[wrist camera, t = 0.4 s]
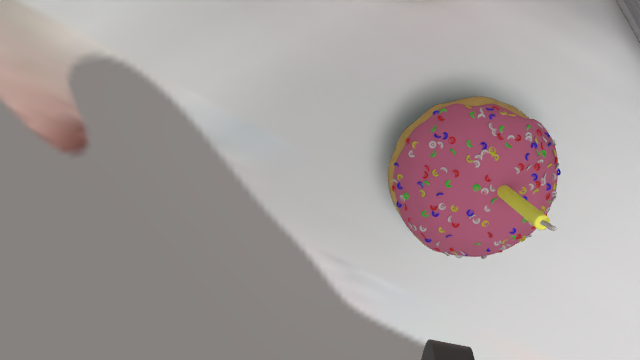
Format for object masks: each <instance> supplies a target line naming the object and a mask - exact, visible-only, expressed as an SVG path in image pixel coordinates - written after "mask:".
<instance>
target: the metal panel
mask: <svg viewBox="0 0 640 360" xmlns="http://www.w3.org/2000/svg"><path fill="white" fill-rule="evenodd" d="M616 1H617V3H618V5H619V6H620V8H621V10H622V12H623V13H624V15H625V17H626V19H627V20H628V22H629V24H630V26H631V27H632V29H633V31H634V33H635V34H636V36H637V38H638V40H639V41H640V0H616Z"/></svg>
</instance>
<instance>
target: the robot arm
mask: <svg viewBox="0 0 640 360" xmlns="http://www.w3.org/2000/svg"><path fill="white" fill-rule="evenodd" d="M421 360H474V356H473V352H472V349H471V348H470V347H466V346H461V345H456V344H451V343H445V342H440V341H435V340H428V341H427V343H426V345H425V348H424V351H423V355H422V359H421Z"/></svg>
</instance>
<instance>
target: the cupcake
mask: <svg viewBox="0 0 640 360" xmlns="http://www.w3.org/2000/svg"><path fill="white" fill-rule="evenodd" d="M555 146H556V142H555V141H554V140H553V139H552V138H551V137H550V135H549V133H548V132H547V130H546V129H545V128H544V127H543V125H542V124H541V123H539V122H538V121H536V120H534V119H529V118H528V117H527V116H526V115H525V114H523V113H522V112H521V111H519V110H518V109H516V108H515V107H513V106H511V105H508V104H505V103H502V102H499V101H497V100H494V99H491V98H487V97H470V98H464V99H459V100H456V101H453V102H449V103H443V104H438V105H435V106H433V107H432V108H430V109H429V110H428V111H426V112H425V113H424V114H423V115H422V116H421V117H419V118H418V119H417V120H416V121H415V122H413V123H412V124H411V125H410V126H409V127H407V128H406V129H405V130H404V132H403V133H402V134H401V136H400V138H399V140H398V142H397V145H396V147H395V150H394V152H393V155H392V157H391V160H390V163H389V167H388V182H389V190H390V194H391V198H392V200H393V203H394V205H395V207H396V209H397V211H398V212H399V214H400V215H401V217H402V219H403V221H404V222H405V224H406V225H407V227H408V228H409V229H410V230H411V231H412V233H413V234H414V235H415V236H416V237H417V238H418V239H419V240H420V241H421V242H422V243H423V244H424V245H426V246H427V247H429V248H430V249H432V250H434V251H437V252H442V253H445V254H446V255H447V256H449V254H451V255H456V257H457V258H461V257H462V256H471V257H477V256H481V258H482V259H485V258H486V257H487V255H491V254H494V253H497V252H502V251H503V250H505V249H508V248H510V247H512V246H513V245H515V244H517V243H519V242H520V241H521V242H522V241H524V240H525V238H527V237H531V236H532V235H530V234H531V233H532V232H533V231H534V230H535V229H536V228H537V229H540V230H543V229H545V228H548V229H549V230H552V231H555V230H556V229H557V228H556V227H555V226H553V225H551V224H550V220H549V218H548V217H547V213H548V211H549V210H550V206H551V204H552V202H553V201H554V200H555V199H556V194H557V192H556V186H557V176H558V175H560V173H561V172H560V169H559V168H558V167H559V163H558V158H557V153H556V148H555ZM558 171H559V173H558ZM457 255H458V256H460V257H458V256H457ZM484 256H485V257H484Z"/></svg>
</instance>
